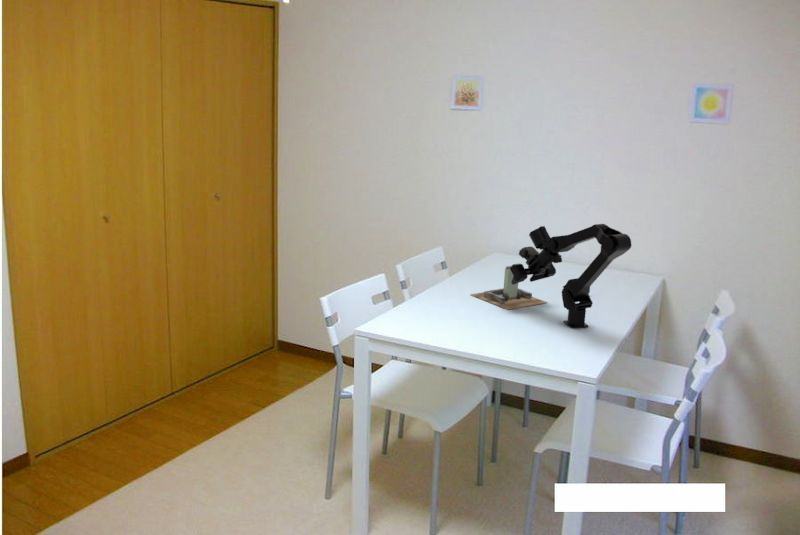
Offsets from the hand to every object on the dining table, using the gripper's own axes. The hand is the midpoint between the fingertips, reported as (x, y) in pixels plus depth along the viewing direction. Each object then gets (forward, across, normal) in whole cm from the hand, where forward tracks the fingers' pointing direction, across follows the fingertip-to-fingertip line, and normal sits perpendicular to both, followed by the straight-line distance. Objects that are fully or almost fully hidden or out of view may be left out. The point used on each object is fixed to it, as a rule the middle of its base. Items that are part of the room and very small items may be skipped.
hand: (521, 282), depth 258 cm
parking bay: (+10, 0, +2) cm, 10 cm away
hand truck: (+10, 0, +2) cm, 10 cm away
